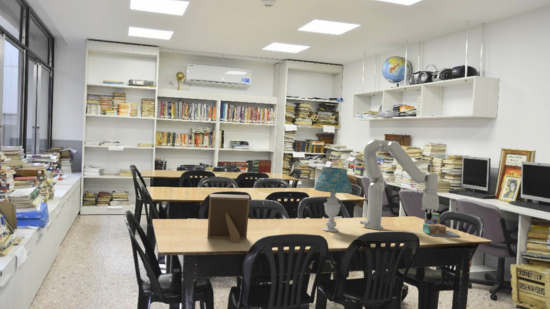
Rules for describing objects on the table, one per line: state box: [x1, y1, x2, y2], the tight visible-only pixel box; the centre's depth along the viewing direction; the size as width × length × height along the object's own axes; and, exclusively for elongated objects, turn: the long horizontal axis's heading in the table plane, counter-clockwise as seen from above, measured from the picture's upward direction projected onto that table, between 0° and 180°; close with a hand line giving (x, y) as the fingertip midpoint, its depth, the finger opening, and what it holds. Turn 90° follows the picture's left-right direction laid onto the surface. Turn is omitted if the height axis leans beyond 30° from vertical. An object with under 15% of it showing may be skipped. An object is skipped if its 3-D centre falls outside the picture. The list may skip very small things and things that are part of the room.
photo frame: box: [207, 193, 251, 244], centre depth 257 cm, size 15×22×25 cm
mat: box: [422, 230, 461, 238], centre depth 307 cm, size 18×16×1 cm
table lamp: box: [314, 166, 353, 233], centre depth 298 cm, size 24×24×40 cm
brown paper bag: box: [422, 223, 447, 235], centre depth 306 cm, size 5×8×12 cm
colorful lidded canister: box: [423, 211, 441, 224], centre depth 321 cm, size 9×9×15 cm
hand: (429, 219), depth 305 cm, fingers closed
